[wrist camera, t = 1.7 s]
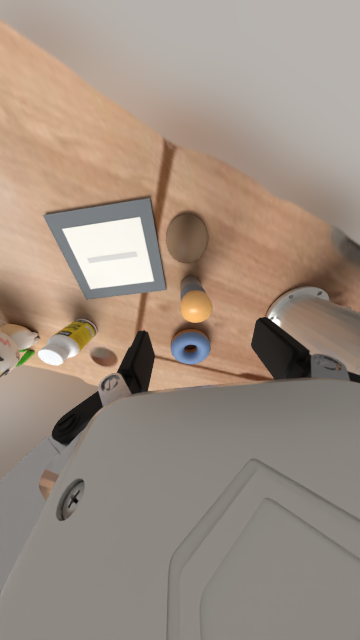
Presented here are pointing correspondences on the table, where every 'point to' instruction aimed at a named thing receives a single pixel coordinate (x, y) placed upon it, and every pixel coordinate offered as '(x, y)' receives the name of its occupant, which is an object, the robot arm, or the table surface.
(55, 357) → the supplement bottle
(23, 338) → the kitten
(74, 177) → the table surface
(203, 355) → the doughnut
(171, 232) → the coaster
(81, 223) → the grey picture frame
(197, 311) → the marker
